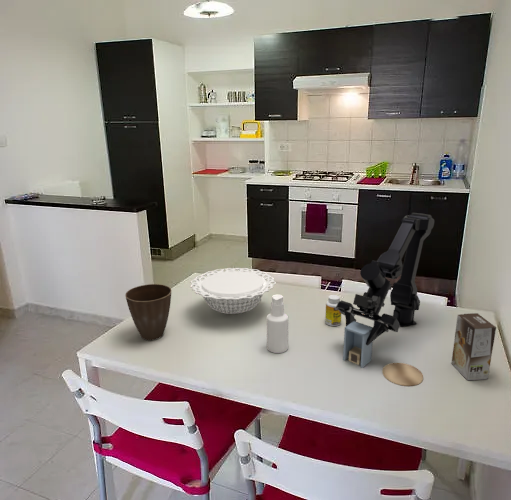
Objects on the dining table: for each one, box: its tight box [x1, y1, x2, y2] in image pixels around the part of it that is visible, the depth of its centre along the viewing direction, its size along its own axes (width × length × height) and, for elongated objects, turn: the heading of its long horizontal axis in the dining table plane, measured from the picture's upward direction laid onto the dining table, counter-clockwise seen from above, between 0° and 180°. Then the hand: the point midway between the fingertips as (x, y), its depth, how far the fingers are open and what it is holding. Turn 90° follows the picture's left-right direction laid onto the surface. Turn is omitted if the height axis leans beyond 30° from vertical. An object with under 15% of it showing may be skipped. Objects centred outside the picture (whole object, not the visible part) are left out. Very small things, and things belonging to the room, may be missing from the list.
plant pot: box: [124, 283, 172, 341], centre depth 142 cm, size 15×15×16 cm
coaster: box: [381, 362, 424, 387], centre depth 120 cm, size 11×11×1 cm
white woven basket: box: [189, 267, 277, 315], centre depth 158 cm, size 32×32×13 cm
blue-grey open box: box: [342, 320, 374, 368], centre depth 126 cm, size 6×6×11 cm
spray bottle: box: [266, 293, 289, 354], centre depth 132 cm, size 7×7×18 cm
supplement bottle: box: [324, 294, 342, 327], centre depth 149 cm, size 6×6×10 cm
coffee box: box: [451, 312, 497, 381], centre depth 119 cm, size 9×6×16 cm
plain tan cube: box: [348, 346, 362, 366], centre depth 127 cm, size 4×4×4 cm
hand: (356, 341), depth 124 cm, fingers closed on blue-grey open box, 6 cm apart
